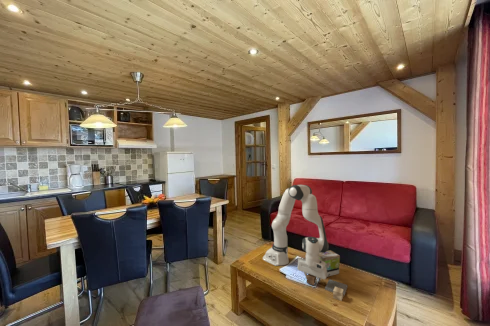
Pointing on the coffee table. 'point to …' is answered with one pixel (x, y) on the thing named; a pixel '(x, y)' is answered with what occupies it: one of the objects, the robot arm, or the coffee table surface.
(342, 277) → the coffee table surface
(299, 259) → the robot arm
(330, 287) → the slate coaster
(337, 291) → the maple cube
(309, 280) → the walnut cube
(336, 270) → the tea box
